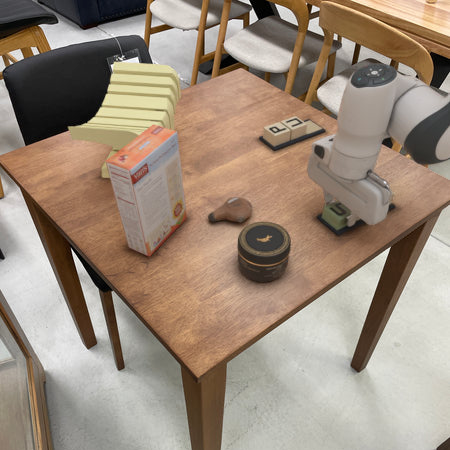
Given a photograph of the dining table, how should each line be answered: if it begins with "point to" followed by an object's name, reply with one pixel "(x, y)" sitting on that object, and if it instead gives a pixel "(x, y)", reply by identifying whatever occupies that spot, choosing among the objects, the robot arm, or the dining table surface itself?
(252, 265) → the jar
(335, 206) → the s tile
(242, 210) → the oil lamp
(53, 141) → the dining table surface
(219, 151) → the dining table surface
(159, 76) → the slatted curved stool
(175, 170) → the cracker box
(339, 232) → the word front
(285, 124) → the word back
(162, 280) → the dining table surface
